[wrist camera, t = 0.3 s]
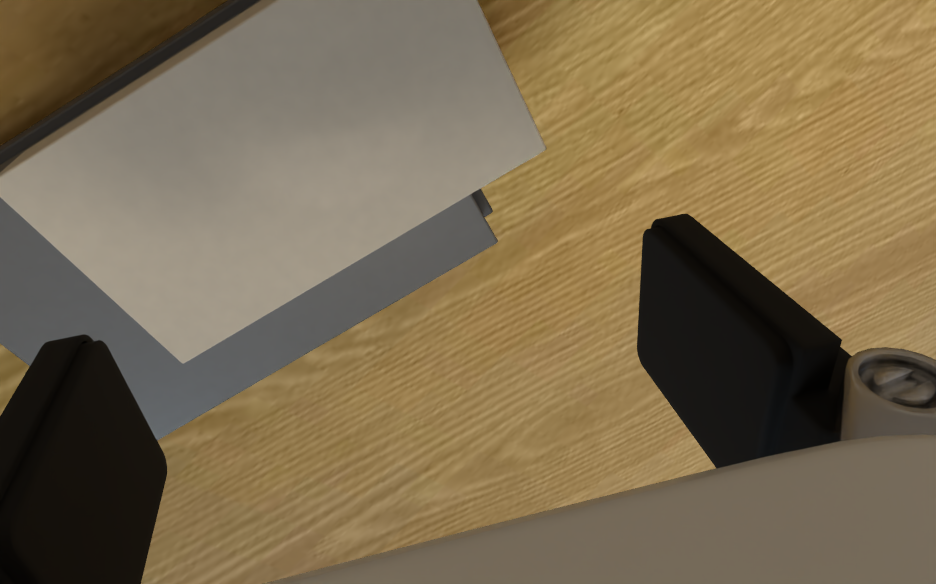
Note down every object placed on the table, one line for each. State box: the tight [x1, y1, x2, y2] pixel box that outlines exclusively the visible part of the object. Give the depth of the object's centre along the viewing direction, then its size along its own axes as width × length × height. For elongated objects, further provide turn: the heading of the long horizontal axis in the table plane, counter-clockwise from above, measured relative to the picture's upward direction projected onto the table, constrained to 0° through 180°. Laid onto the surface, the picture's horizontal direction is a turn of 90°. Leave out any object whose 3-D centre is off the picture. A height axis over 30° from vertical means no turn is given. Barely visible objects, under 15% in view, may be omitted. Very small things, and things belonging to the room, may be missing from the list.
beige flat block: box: [0, 0, 546, 364], centre depth 17 cm, size 12×6×2 cm, turn 118°
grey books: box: [0, 0, 498, 440], centre depth 21 cm, size 15×10×4 cm, turn 118°
